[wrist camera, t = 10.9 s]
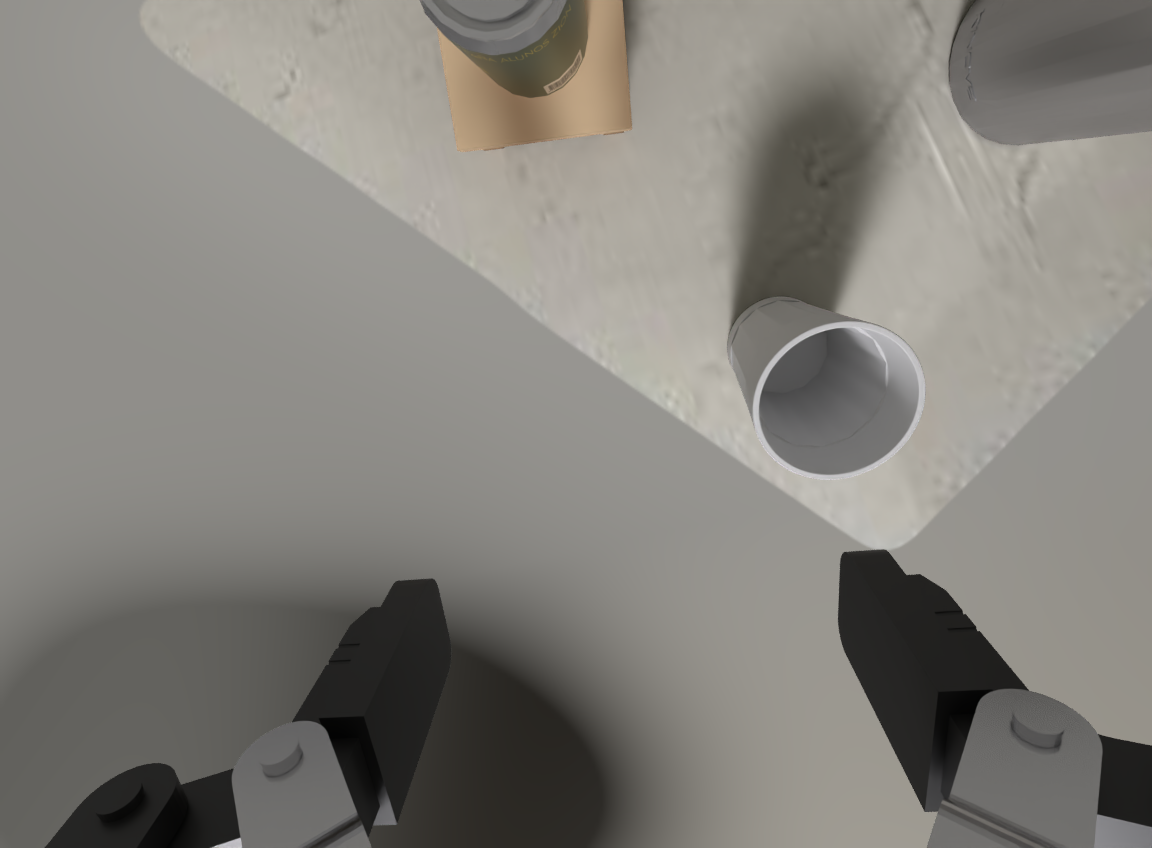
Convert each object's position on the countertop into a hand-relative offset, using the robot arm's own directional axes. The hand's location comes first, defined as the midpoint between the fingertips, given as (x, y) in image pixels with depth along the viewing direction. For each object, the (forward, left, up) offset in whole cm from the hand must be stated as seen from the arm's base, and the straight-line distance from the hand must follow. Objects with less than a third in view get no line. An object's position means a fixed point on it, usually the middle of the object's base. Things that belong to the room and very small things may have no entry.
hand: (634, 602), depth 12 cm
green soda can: (+3, -15, -24) cm, 29 cm away
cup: (-10, +3, -30) cm, 32 cm away
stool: (+3, -15, -30) cm, 34 cm away
